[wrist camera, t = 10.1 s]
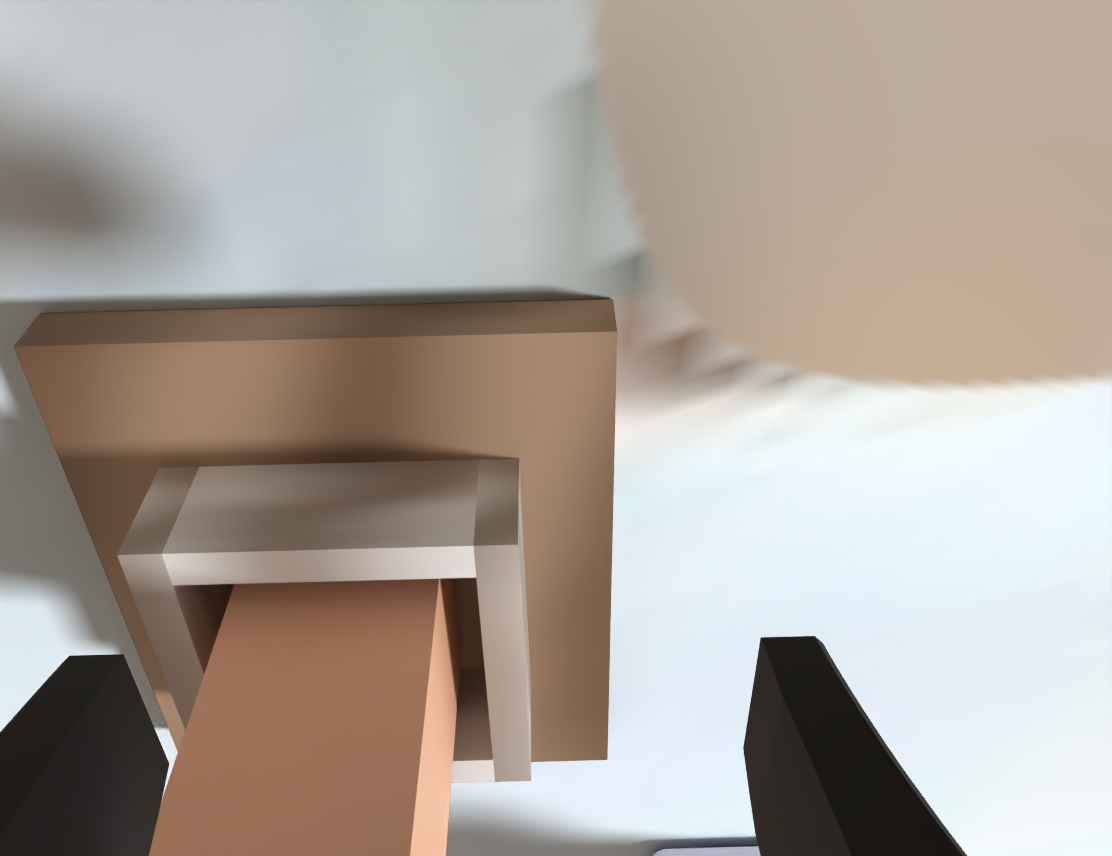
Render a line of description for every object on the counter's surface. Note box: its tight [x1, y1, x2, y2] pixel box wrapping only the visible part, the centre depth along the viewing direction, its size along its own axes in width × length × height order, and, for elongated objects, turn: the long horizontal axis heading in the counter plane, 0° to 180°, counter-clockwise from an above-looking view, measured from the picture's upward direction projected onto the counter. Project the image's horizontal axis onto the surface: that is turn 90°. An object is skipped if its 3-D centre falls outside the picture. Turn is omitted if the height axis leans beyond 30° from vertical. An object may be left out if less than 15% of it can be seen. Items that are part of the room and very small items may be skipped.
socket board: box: [14, 299, 617, 783], centre depth 21 cm, size 11×13×4 cm
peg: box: [149, 578, 462, 856], centre depth 19 cm, size 4×4×8 cm
